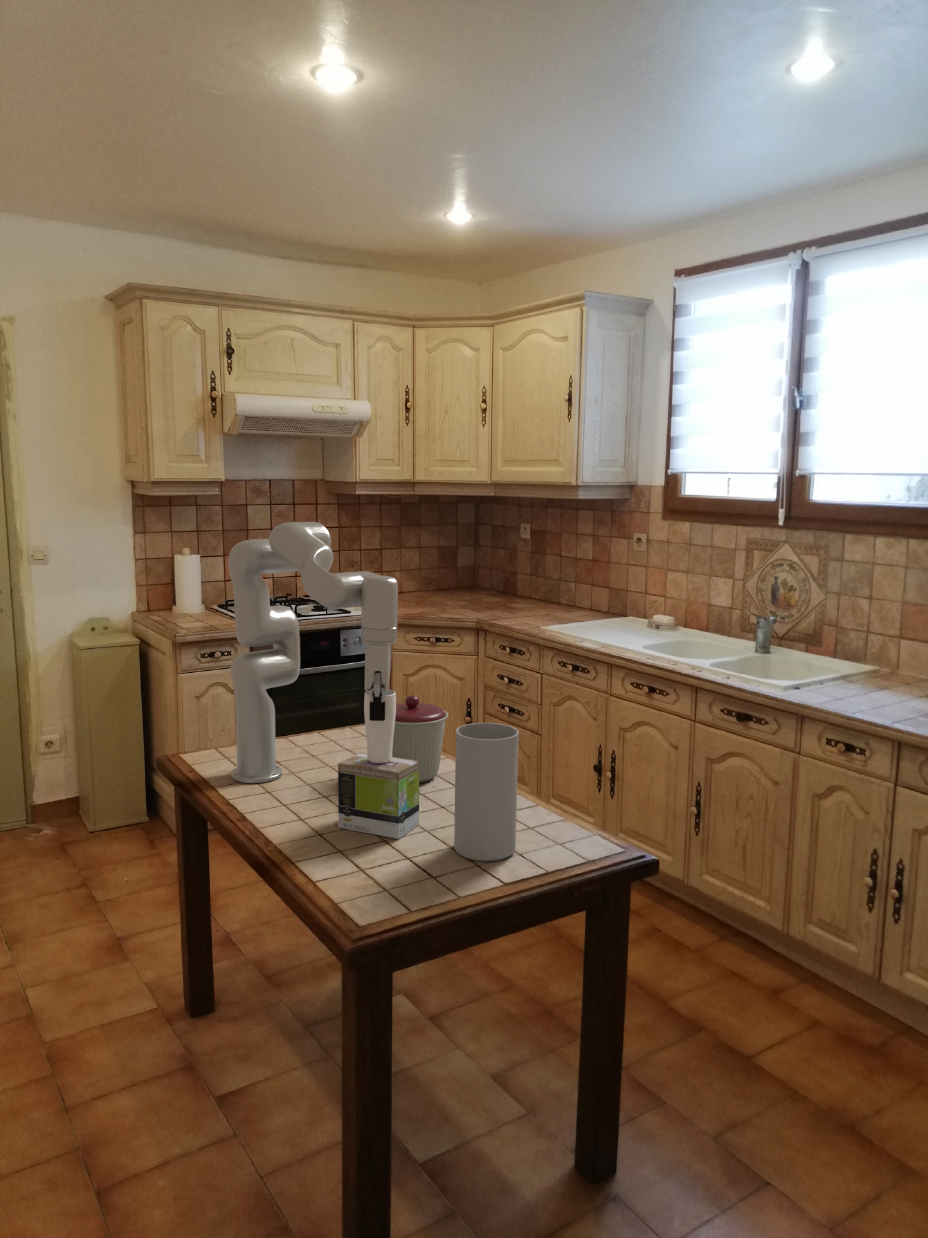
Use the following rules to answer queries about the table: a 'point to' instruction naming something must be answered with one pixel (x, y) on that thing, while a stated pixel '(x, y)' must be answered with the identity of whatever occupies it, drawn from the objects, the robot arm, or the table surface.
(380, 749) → the white tumbler cup
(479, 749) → the cylinder vase
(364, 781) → the tea box
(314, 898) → the table surface
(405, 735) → the canister
